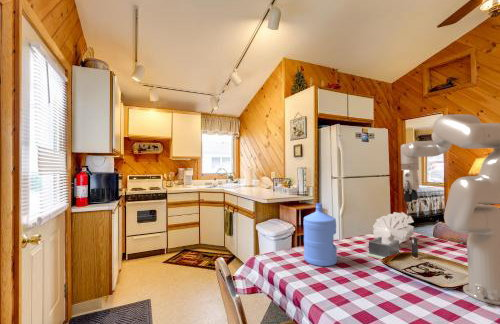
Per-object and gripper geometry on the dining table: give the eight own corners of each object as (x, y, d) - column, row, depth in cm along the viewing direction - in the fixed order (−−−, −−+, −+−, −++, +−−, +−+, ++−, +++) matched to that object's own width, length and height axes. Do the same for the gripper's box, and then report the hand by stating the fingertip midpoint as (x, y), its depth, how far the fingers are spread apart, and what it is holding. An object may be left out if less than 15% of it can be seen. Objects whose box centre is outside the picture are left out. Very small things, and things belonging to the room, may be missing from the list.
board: (390, 261, 116) (390, 259, 116) (366, 255, 124) (366, 254, 124) (400, 253, 126) (400, 251, 126) (378, 248, 135) (378, 247, 135)
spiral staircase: (379, 253, 139) (393, 241, 156) (411, 246, 127) (422, 234, 144) (363, 222, 145) (379, 214, 162) (392, 213, 133) (405, 206, 150)
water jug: (314, 268, 108) (313, 206, 109) (298, 256, 123) (297, 202, 124) (344, 264, 112) (342, 204, 113) (325, 253, 127) (323, 201, 128)
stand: (419, 260, 117) (418, 239, 117) (408, 257, 120) (407, 238, 120) (421, 257, 120) (420, 238, 120) (411, 255, 123) (410, 236, 123)
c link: (390, 258, 117) (389, 246, 117) (368, 253, 125) (368, 241, 125) (399, 251, 127) (399, 240, 127) (379, 247, 134) (378, 236, 134)
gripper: (413, 167, 114) (415, 203, 114) (422, 167, 126) (424, 199, 126) (396, 167, 120) (397, 201, 119) (406, 167, 132) (407, 198, 131)
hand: (411, 200), depth 122 cm, fingers open, 9 cm apart
